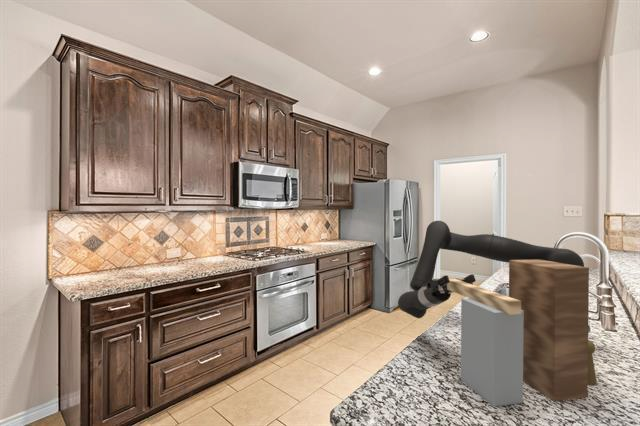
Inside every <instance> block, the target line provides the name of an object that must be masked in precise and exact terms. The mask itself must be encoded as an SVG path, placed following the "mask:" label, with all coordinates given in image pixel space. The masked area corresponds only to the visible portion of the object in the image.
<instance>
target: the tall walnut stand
mask: <svg viewBox="0 0 640 426" xmlns="http://www.w3.org/2000/svg"><path fill="white" fill-rule="evenodd" d="M589 286H590V267H586V266H584V267H582V266H576V265H570V264H564V263H558V262H552V261H546V260H540V259H531V260H509V263H508V297H511V298H514V299H517V300H520V301H521V310H523V311H524V325H523V384H527V385H528V386H529V387H530V388H533V389H534V390H535V391H537V392H539V393H540V394H542V395H544V396H545V397H547V398H548V399H549V400H552V401H553V402H560V401H567V400H574V399H575V400H576V399H580V398H588V396H589V394H588V393H589V391H588V390H589V385H588V340H589V312H590V311H589V300H590V299H589V297H590V295H589V293H590V291H589V289H590V287H589Z"/></svg>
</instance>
